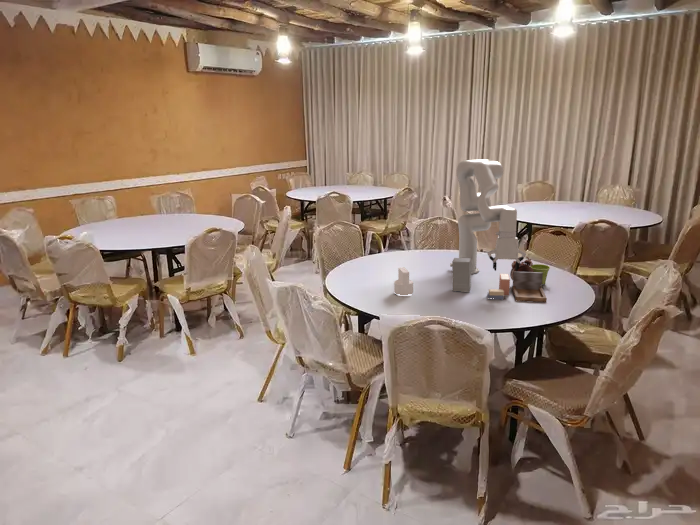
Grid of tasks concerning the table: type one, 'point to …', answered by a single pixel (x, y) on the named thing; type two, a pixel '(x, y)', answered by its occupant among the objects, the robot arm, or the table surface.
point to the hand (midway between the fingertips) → (505, 270)
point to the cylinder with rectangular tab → (403, 283)
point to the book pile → (495, 293)
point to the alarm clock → (522, 267)
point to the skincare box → (461, 274)
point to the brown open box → (528, 286)
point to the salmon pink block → (504, 283)
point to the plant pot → (541, 270)
